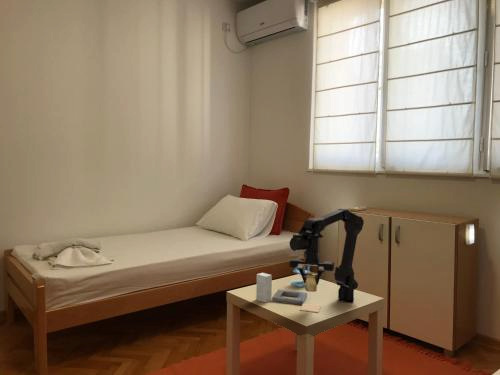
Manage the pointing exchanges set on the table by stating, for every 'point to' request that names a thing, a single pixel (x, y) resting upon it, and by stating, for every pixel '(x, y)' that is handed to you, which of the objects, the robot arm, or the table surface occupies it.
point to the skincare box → (264, 287)
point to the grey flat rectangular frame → (300, 300)
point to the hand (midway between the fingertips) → (311, 283)
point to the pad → (310, 308)
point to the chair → (299, 281)
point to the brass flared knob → (311, 281)
